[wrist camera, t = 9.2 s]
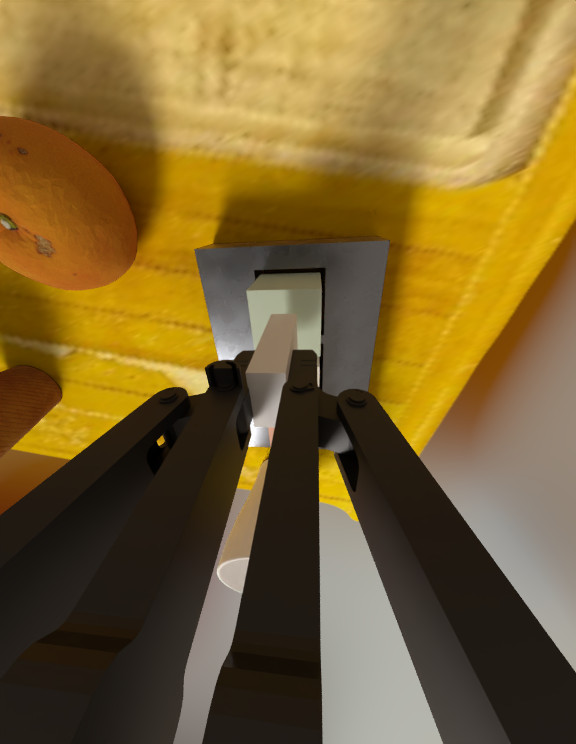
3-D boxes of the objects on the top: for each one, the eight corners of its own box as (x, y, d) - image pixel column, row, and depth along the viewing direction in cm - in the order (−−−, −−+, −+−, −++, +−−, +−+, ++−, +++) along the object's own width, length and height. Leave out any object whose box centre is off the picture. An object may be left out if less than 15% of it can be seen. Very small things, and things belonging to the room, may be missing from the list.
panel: (212, 243, 22) (194, 249, 19) (377, 236, 21) (389, 240, 17) (245, 422, 33) (237, 445, 30) (354, 425, 32) (359, 450, 28)
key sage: (260, 274, 20) (246, 290, 16) (320, 272, 19) (321, 288, 15) (266, 329, 22) (255, 356, 18) (319, 328, 22) (320, 356, 18)
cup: (308, 442, 34) (306, 557, 23) (320, 489, 39) (323, 601, 28) (236, 449, 36) (200, 557, 25) (256, 493, 41) (235, 599, 30)
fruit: (122, 302, 26) (54, 333, 19) (14, 212, 22) (-117, 211, 15) (178, 221, 21) (116, 224, 15) (56, 93, 18) (-101, 20, 11)
